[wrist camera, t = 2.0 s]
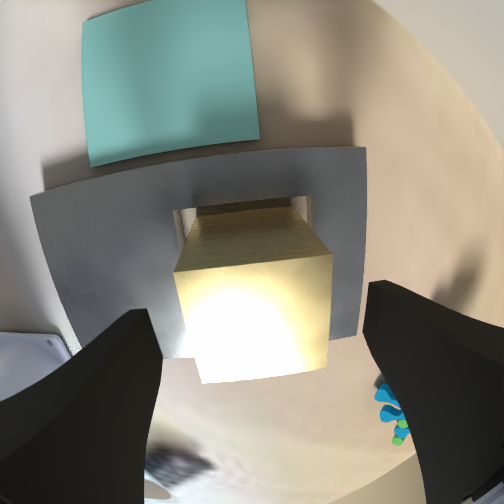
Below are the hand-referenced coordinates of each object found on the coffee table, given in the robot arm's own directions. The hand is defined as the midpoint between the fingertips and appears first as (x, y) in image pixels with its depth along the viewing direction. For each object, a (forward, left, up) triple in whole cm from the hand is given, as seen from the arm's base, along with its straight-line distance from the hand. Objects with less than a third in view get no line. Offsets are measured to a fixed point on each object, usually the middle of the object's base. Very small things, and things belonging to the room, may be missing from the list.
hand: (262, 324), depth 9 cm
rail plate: (-3, 0, -6) cm, 6 cm away
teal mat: (-3, +9, -6) cm, 11 cm away
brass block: (0, 0, -6) cm, 6 cm away
